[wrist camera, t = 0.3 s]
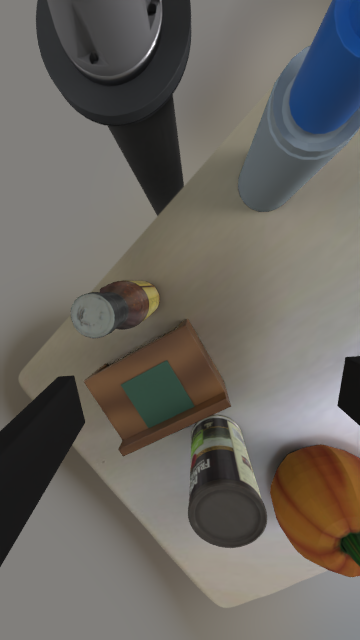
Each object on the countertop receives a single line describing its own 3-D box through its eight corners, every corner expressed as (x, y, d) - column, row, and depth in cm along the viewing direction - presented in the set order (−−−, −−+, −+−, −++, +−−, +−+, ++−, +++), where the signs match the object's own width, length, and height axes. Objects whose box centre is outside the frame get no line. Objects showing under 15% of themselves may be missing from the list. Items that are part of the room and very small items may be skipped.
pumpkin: (290, 418, 38) (349, 501, 23) (385, 456, 38) (505, 564, 23) (248, 495, 42) (276, 608, 27) (334, 530, 41) (411, 664, 27)
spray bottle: (296, 207, 32) (616, -49, 8) (240, 215, 33) (365, 12, 9) (294, 145, 31) (678, -407, 6) (235, 156, 32) (370, -291, 7)
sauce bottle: (120, 298, 37) (37, 311, 18) (143, 273, 36) (81, 258, 16) (146, 323, 37) (91, 363, 18) (169, 299, 36) (138, 315, 17)
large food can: (182, 447, 41) (175, 528, 27) (204, 406, 39) (208, 471, 25) (228, 468, 41) (244, 560, 27) (252, 428, 39) (282, 506, 25)
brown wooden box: (100, 367, 40) (76, 387, 32) (187, 318, 37) (185, 327, 29) (137, 424, 41) (122, 456, 33) (224, 381, 38) (231, 406, 30)
